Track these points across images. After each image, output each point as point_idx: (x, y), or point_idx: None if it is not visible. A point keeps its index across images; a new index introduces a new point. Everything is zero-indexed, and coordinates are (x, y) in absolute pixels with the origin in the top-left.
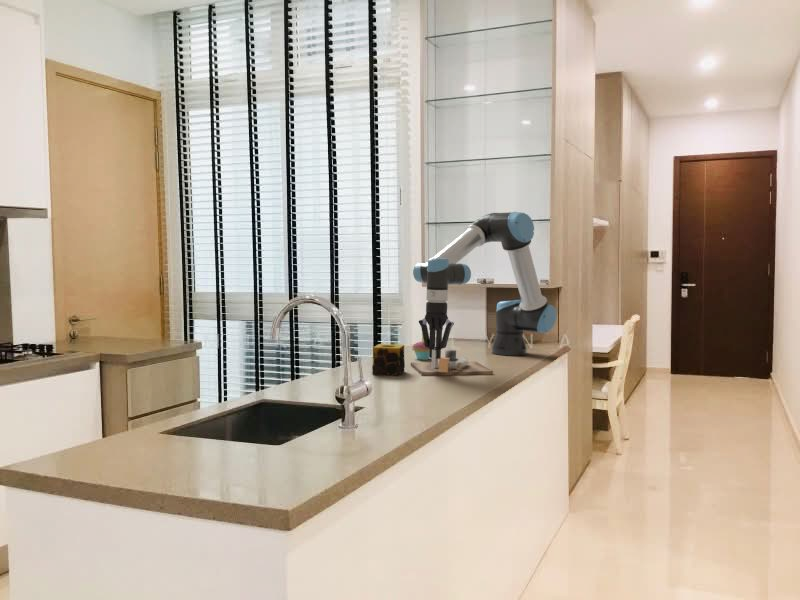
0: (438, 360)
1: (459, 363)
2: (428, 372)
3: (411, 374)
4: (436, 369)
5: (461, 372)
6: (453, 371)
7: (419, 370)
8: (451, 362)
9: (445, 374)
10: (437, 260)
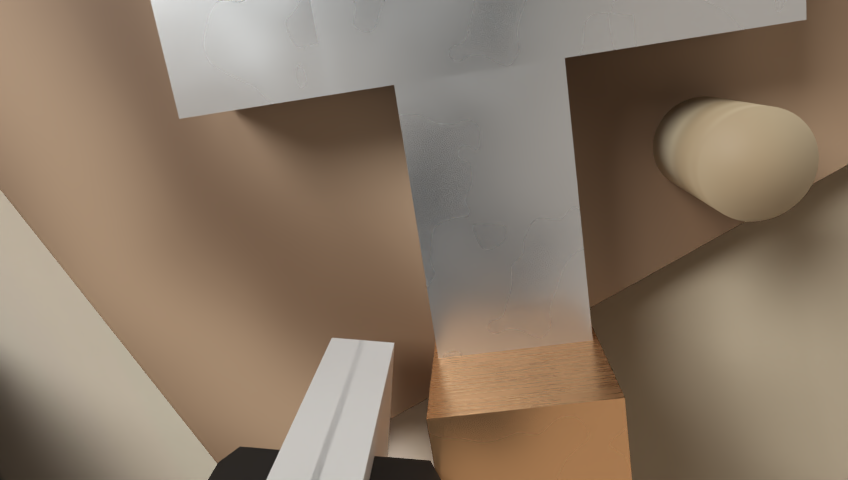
0: (250, 14)
1: (772, 216)
2: None
3: (107, 446)
4: (329, 203)
5: None
6: (633, 255)
7: (135, 353)
8: (569, 111)
9: None
10: None
